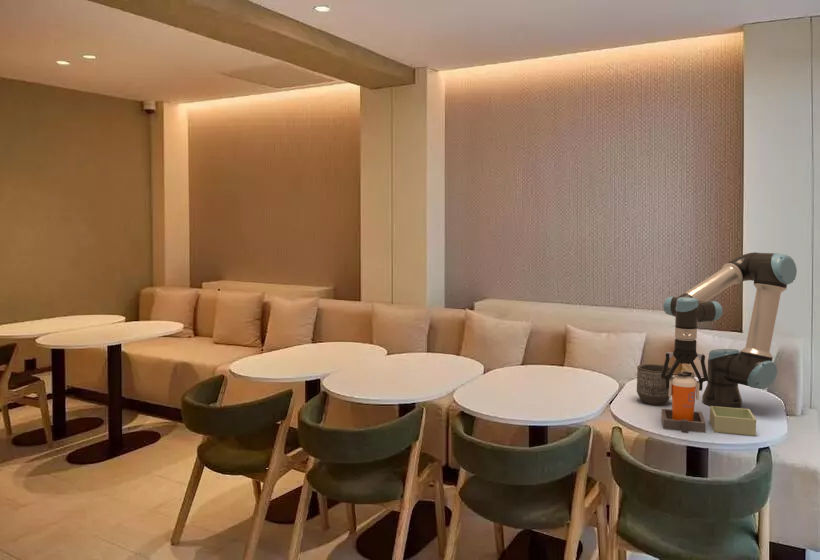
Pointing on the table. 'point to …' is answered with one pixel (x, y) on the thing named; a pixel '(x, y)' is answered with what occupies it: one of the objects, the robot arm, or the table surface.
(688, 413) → the shaker bottle
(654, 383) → the planter
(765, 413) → the table surface
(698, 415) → the collar
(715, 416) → the sage holder
